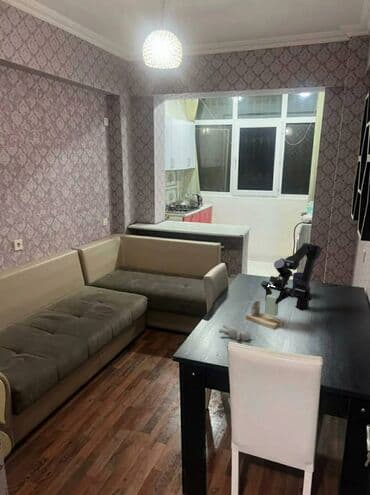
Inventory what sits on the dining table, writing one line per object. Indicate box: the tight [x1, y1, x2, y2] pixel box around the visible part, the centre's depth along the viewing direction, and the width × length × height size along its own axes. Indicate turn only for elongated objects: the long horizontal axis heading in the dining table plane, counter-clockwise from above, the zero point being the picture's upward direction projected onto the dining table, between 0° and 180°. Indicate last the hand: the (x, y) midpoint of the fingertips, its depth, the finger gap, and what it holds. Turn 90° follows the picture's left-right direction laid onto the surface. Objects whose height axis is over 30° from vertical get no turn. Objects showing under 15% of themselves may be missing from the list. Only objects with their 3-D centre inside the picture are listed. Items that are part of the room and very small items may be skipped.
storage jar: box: [291, 271, 303, 299], centre depth 237 cm, size 10×10×15 cm
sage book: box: [264, 294, 279, 317], centre depth 193 cm, size 3×6×10 cm, turn 43°
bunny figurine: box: [218, 324, 252, 342], centre depth 179 cm, size 10×5×15 cm
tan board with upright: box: [245, 299, 285, 330], centre depth 197 cm, size 10×18×10 cm, turn 43°
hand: (270, 302), depth 192 cm, fingers closed on sage book, 6 cm apart
